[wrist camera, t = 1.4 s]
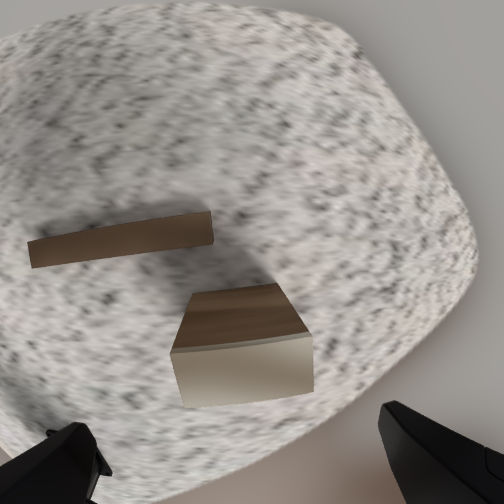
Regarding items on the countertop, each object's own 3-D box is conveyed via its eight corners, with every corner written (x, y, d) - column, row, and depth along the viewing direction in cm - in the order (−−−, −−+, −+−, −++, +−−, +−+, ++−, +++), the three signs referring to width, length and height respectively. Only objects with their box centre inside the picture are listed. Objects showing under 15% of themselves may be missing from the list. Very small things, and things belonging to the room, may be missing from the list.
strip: (214, 240, 20) (212, 244, 18) (45, 263, 19) (31, 268, 17) (210, 211, 19) (208, 211, 17) (41, 238, 19) (27, 241, 17)
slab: (280, 322, 21) (313, 391, 12) (199, 332, 21) (184, 408, 12) (277, 282, 21) (312, 336, 12) (192, 293, 20) (169, 353, 11)
